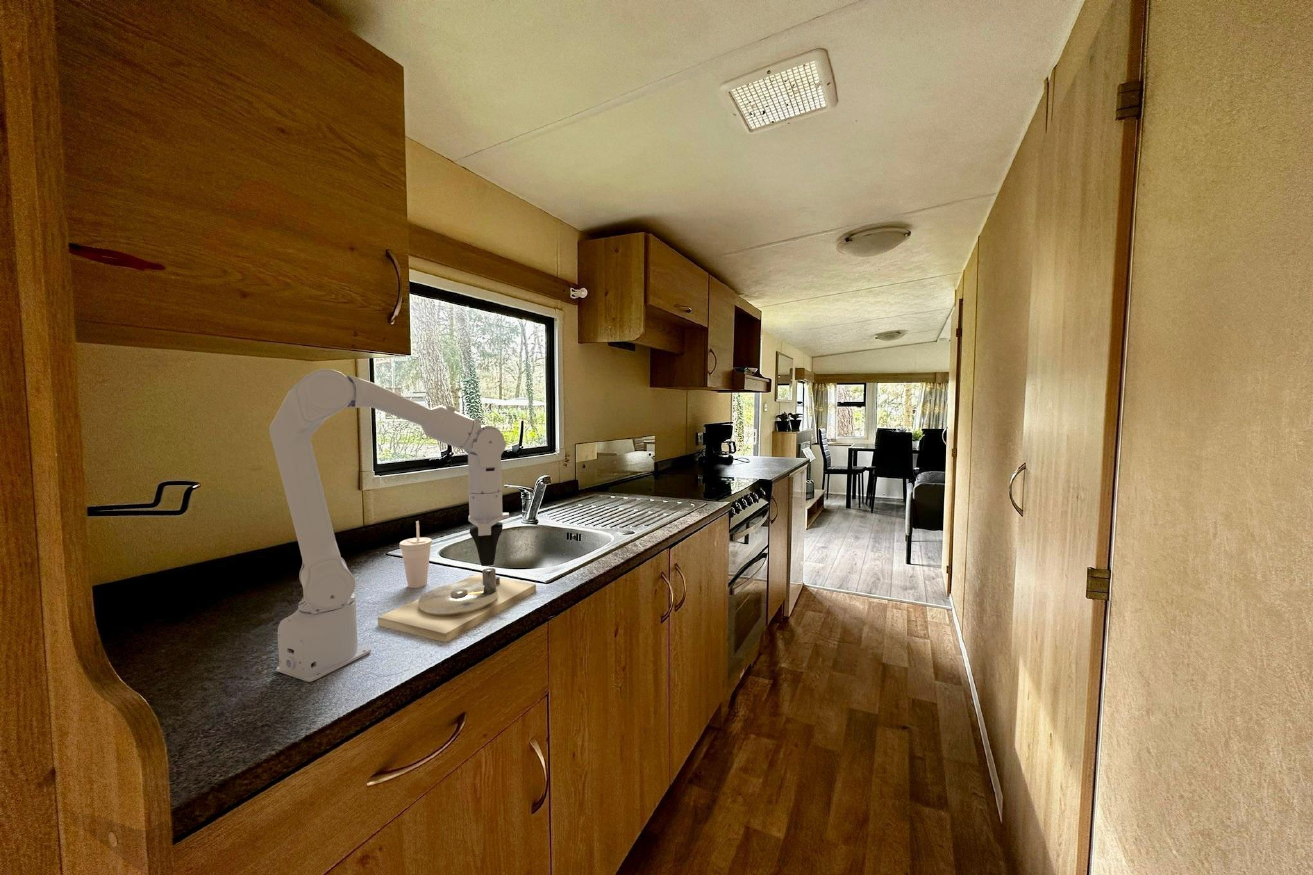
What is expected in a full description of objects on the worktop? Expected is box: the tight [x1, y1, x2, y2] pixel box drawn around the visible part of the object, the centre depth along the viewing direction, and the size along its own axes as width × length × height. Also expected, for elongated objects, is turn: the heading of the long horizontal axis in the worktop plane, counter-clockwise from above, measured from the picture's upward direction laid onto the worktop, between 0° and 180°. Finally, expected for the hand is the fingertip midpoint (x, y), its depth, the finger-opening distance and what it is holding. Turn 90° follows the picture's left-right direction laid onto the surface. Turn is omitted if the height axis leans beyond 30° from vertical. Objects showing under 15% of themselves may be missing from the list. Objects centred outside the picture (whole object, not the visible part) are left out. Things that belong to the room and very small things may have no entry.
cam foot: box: [418, 567, 498, 616], centre depth 94 cm, size 14×14×5 cm
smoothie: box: [399, 520, 433, 589], centre depth 106 cm, size 6×6×14 cm
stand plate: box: [377, 573, 537, 643], centre depth 95 cm, size 24×16×3 cm, turn 157°
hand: (487, 564), depth 90 cm, fingers closed
